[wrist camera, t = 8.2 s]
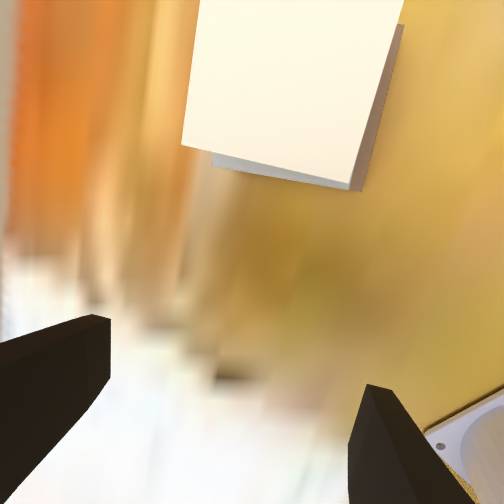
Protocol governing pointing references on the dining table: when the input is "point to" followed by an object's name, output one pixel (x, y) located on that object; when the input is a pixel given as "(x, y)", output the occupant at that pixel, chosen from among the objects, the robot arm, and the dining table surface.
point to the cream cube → (287, 80)
